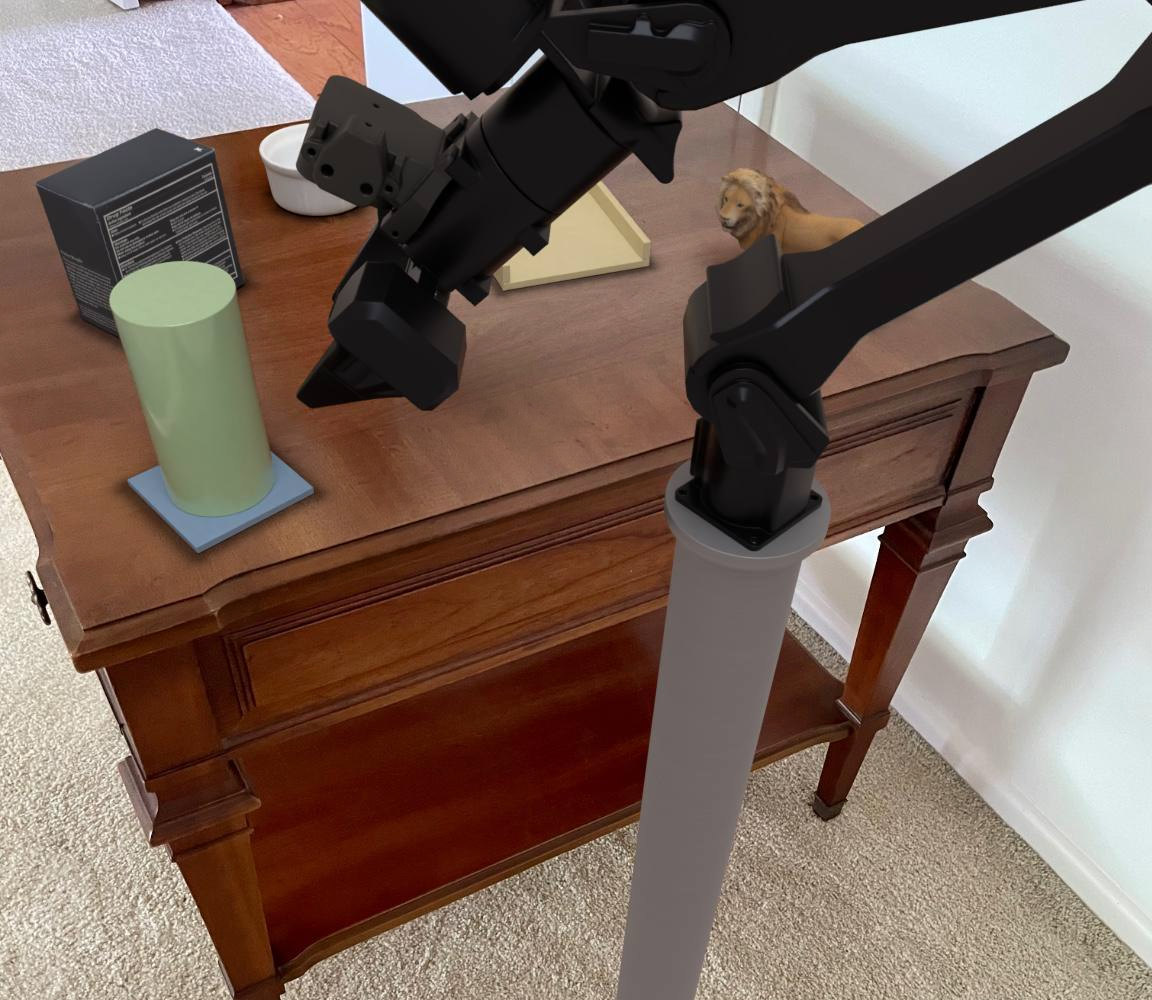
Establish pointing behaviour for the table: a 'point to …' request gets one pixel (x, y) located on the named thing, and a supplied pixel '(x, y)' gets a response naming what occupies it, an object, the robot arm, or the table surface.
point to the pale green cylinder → (195, 385)
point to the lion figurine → (774, 214)
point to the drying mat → (217, 529)
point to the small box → (137, 216)
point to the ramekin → (295, 176)
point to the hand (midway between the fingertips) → (321, 350)
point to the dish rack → (581, 245)
